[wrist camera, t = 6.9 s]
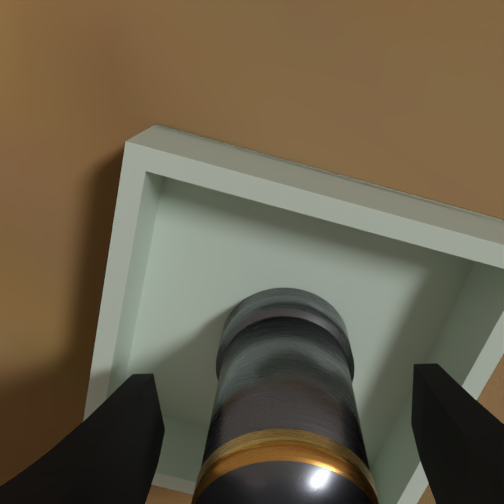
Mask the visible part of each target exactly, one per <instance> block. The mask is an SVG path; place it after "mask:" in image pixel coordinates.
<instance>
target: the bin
mask: <svg viewBox="0 0 504 504" xmlns="http://www.w3.org/2000/svg"><path fill="white" fill-rule="evenodd" d="M272 288H296V289H301V290H305V291H308V292H311V293H313V294H315V295H317V296H319V297H321V298H323V299H324V300H326V301H327V302H328V303H330V304H331V305H332V306H333V307H334V308H335V309H336V311H337V312H338V313H339V314H340V316H341V318H342V319H343V321H344V323H345V326H346V329H347V333H348V337H349V341H350V346H351V350H352V355H353V359H354V367H355V369H354V378H353V382H352V386H353V391H354V396H355V401H356V405H357V410H358V415H359V420H360V425H361V430H362V434H363V439H364V444H365V449H366V454H367V459H368V464H369V468H370V473H371V475H372V478H373V480H374V483H375V487H376V491H377V496H378V500H379V504H417V503H418V501H419V499H420V497H421V496H422V494H423V492H424V490H425V489H426V487H427V485H428V480H427V477H426V475H425V472H424V469H423V467H422V464H421V461H420V458H419V454H418V450H417V446H416V443H415V438H414V434H413V430H412V426H411V413H412V392H413V370H414V364H431V363H437V364H439V365H440V366H441V367H442V368H443V369H444V370H445V371H446V372H447V373H448V374H449V375H450V376H451V377H452V378H453V379H454V380H455V381H456V382H457V383H458V384H459V385H460V386H462V387H463V388H464V389H465V390H466V391H467V392H468V393H469V394H470V395H471V396H472V397H473V398H474V399H475V400H477V398H478V397H479V395H480V393H481V392H482V390H483V388H484V386H485V385H486V383H487V381H488V379H489V378H490V376H491V374H492V372H493V371H494V369H495V367H496V366H497V364H498V362H499V360H500V359H501V357H502V355H503V353H504V220H501V219H498V218H494V217H491V216H487V215H483V214H480V213H476V212H473V211H469V210H465V209H462V208H458V207H454V206H451V205H447V204H444V203H440V202H436V201H433V200H429V199H426V198H422V197H418V196H415V195H411V194H408V193H404V192H400V191H397V190H393V189H389V188H386V187H382V186H379V185H375V184H371V183H368V182H364V181H361V180H357V179H353V178H350V177H346V176H343V175H339V174H335V173H332V172H328V171H325V170H321V169H317V168H314V167H310V166H306V165H303V164H299V163H296V162H292V161H288V160H285V159H281V158H278V157H274V156H270V155H267V154H263V153H260V152H256V151H252V150H249V149H245V148H241V147H238V146H234V145H231V144H227V143H223V142H220V141H216V140H213V139H209V138H205V137H202V136H198V135H195V134H191V133H187V132H184V131H180V130H176V129H173V128H169V127H166V126H162V125H158V124H156V125H154V126H152V127H150V128H149V129H147V130H145V131H143V132H141V133H140V134H138V135H136V136H134V137H132V138H130V139H129V140H127V141H126V142H125V149H124V156H123V162H122V169H121V175H120V182H119V188H118V195H117V202H116V208H115V215H114V221H113V228H112V234H111V241H110V248H109V254H108V261H107V267H106V274H105V280H104V287H103V294H102V300H101V307H100V313H99V320H98V326H97V333H96V340H95V346H94V353H93V359H92V366H91V372H90V379H89V386H88V392H87V399H86V405H85V412H84V418H83V421H84V420H86V419H87V418H88V417H89V416H90V415H91V414H92V413H93V412H94V411H95V410H96V409H97V408H98V407H99V406H100V405H101V404H102V403H103V402H104V401H105V400H106V399H107V398H108V397H109V396H110V395H111V394H112V393H113V392H114V391H115V390H116V389H117V388H118V387H120V386H121V385H122V384H123V383H124V382H125V381H126V380H127V379H128V378H129V377H130V376H131V375H132V374H148V373H153V374H154V379H155V384H156V389H157V393H158V398H159V403H160V408H161V413H162V417H163V422H164V427H165V432H164V438H163V443H162V448H161V453H160V457H159V462H158V466H157V469H156V472H155V475H154V478H153V481H152V484H151V485H155V486H159V487H163V488H167V489H171V490H175V491H179V492H184V493H188V494H192V495H193V493H194V489H195V484H196V480H197V476H198V473H199V471H200V469H201V465H202V460H203V455H204V450H205V445H206V440H207V435H208V430H209V425H210V420H211V415H212V410H213V405H214V400H215V395H216V390H217V385H218V379H217V374H216V358H217V353H218V349H219V344H220V340H221V335H222V331H223V327H224V324H225V322H226V320H227V318H228V316H229V315H230V313H231V312H232V310H233V309H234V308H235V307H236V306H237V305H238V304H239V303H240V302H241V301H243V300H244V299H246V298H247V297H249V296H251V295H253V294H255V293H258V292H260V291H263V290H267V289H272Z"/></svg>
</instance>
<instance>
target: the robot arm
mask: <svg viewBox="0 0 504 504" xmlns="http://www.w3.org/2000/svg"><path fill="white" fill-rule="evenodd" d="M411 426H412V430H413V434H414V438H415V443H416V446H417V450H418V454H419V458H420V461H421V464H422V467H423V469H424V472H425V475H426V477H427V480H428V483H429V485H430V488H431V491H432V493H433V496H434V498H435V501H436V504H504V424H503V423H501V422H500V421H499V420H498V419H497V418H496V417H494V416H493V415H492V414H491V413H490V412H489V411H488V410H487V409H485V408H484V407H483V406H482V405H481V404H480V403H479V402H478V401H476V400H475V399H474V398H473V397H472V396H471V395H470V394H469V393H468V392H467V391H466V390H465V389H464V388H463V387H462V386H460V385H459V384H458V383H457V382H456V381H455V380H454V379H453V378H452V377H451V376H450V375H449V374H448V373H447V372H446V371H445V370H444V369H443V368H442V367H441V366H440V365H439V364H437V363H431V364H414V370H413V392H412V413H411ZM164 432H165V427H164V422H163V417H162V413H161V408H160V403H159V398H158V393H157V389H156V384H155V379H154V374H153V373H148V374H132V375H131V376H130V377H129V378H128V379H127V380H126V381H125V382H124V383H123V384H122V385H121V386H120V387H118V388H117V389H116V390H115V391H114V392H113V393H112V394H111V395H110V396H109V397H108V398H107V399H106V400H105V401H104V402H103V403H102V404H101V405H100V406H99V407H98V408H97V409H96V410H95V411H94V412H93V413H92V414H91V415H90V416H89V417H88V418H87V419H86V420H84V421H83V422H82V423H81V424H80V425H79V426H78V427H77V428H75V429H74V430H73V431H72V432H71V433H70V434H69V435H67V436H66V437H65V438H64V439H63V440H62V441H61V442H60V443H58V444H57V445H56V446H55V447H54V448H52V449H51V450H50V451H49V452H48V453H46V454H45V455H44V456H42V457H41V458H40V459H39V460H37V461H36V462H35V463H33V464H32V465H31V466H29V467H28V468H27V469H25V470H24V471H23V472H21V473H20V474H18V475H17V476H15V477H14V478H13V479H11V480H9V481H8V482H6V483H5V484H3V485H2V486H0V504H145V502H146V499H147V496H148V493H149V490H150V487H151V484H152V481H153V478H154V475H155V472H156V469H157V466H158V462H159V457H160V453H161V448H162V443H163V438H164Z"/></svg>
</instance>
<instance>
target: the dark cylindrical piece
mask: <svg viewBox="0 0 504 504" xmlns="http://www.w3.org/2000/svg"><path fill="white" fill-rule="evenodd" d="M354 369H355V367H354V359H353V355H352V350H351V346H350V341H349V337H348V333H347V329H346V326H345V323H344V321H343V319H342V318H341V316H340V314H339V313H338V312H337V311H336V309H335V308H334V307H333V306H332V305H331V304H330V303H328V302H327V301H326V300H324V299H323V298H321V297H319V296H317V295H315V294H313V293H311V292H308V291H305V290H301V289H296V288H272V289H267V290H263V291H260V292H258V293H255V294H253V295H251V296H249V297H247V298H246V299H244V300H243V301H241V302H240V303H239V304H238V305H237V306H236V307H235V308H234V309H233V310H232V312H231V313H230V315H229V316H228V318H227V320H226V322H225V324H224V327H223V331H222V335H221V340H220V344H219V349H218V353H217V358H216V374H217V379H218V385H217V390H216V395H215V400H214V405H213V410H212V415H211V420H210V425H209V430H208V435H207V440H206V445H205V450H204V455H203V460H202V465H201V469H200V471H199V473H198V476H197V480H196V484H195V489H194V493H193V498H192V503H191V504H379V500H378V496H377V491H376V487H375V483H374V480H373V478H372V475H371V473H370V468H369V464H368V459H367V454H366V449H365V444H364V439H363V434H362V430H361V425H360V420H359V415H358V410H357V405H356V401H355V396H354V391H353V386H352V382H353V378H354Z"/></svg>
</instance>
